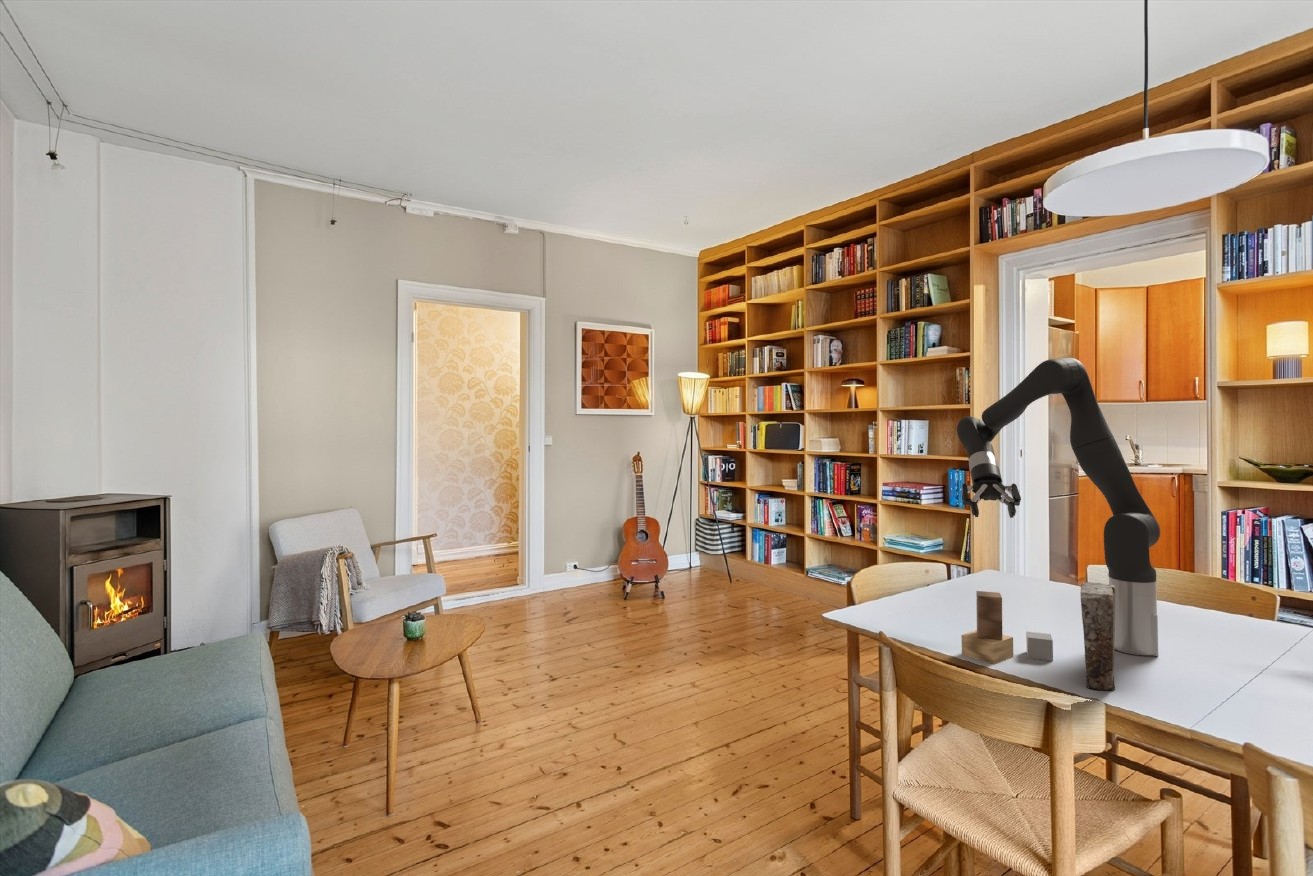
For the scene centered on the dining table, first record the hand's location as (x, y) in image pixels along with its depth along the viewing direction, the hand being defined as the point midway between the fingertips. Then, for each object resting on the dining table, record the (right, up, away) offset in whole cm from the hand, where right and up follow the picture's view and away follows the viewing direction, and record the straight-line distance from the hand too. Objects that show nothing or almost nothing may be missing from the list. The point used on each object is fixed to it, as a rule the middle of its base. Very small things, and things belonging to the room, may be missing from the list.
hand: (994, 515), depth 171 cm
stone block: (+3, -31, -36) cm, 48 cm away
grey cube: (-1, -31, -21) cm, 37 cm away
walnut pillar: (-12, -26, -20) cm, 35 cm away
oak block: (-12, -31, -20) cm, 39 cm away
